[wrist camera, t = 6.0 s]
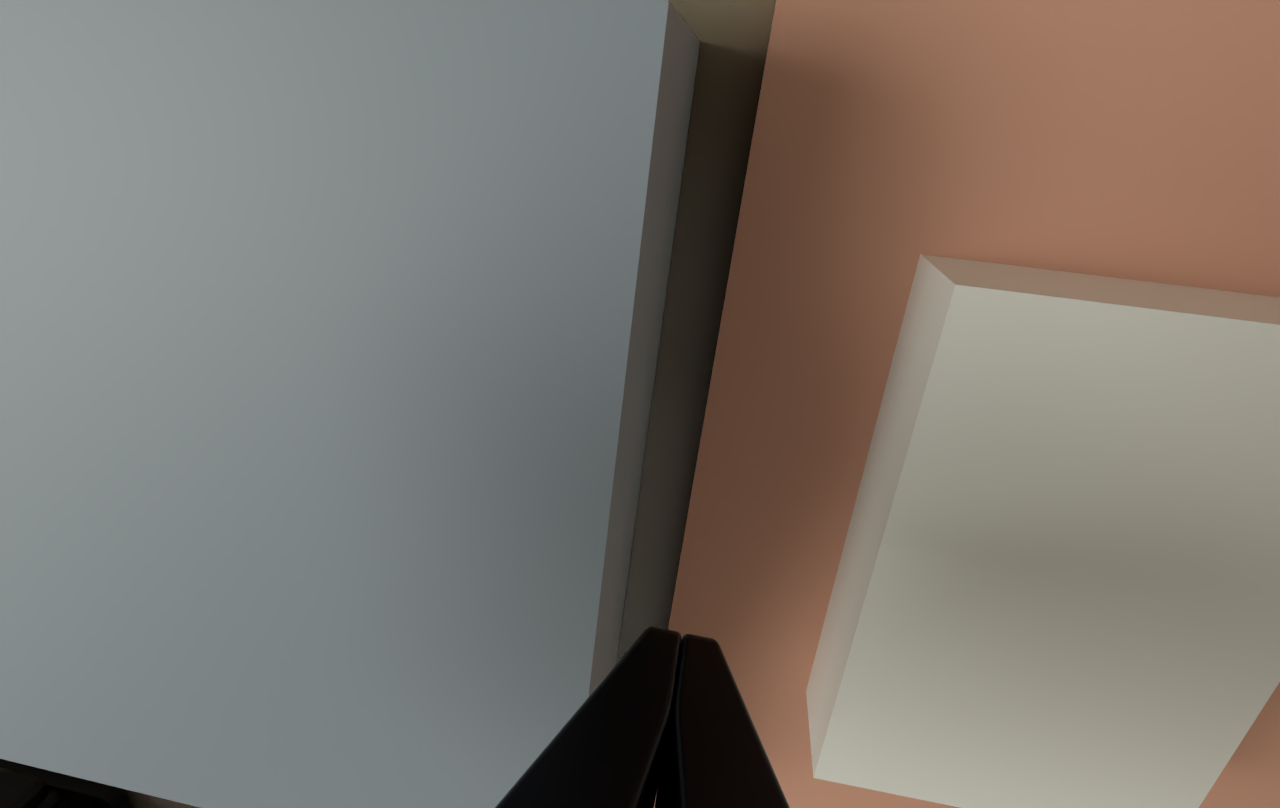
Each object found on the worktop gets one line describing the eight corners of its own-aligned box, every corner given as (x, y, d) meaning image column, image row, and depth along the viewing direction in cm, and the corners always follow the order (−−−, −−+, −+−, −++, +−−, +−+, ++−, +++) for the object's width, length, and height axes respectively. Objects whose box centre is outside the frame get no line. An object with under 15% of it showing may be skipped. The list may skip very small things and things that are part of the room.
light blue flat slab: (609, 716, 16) (565, 897, 12) (68, 598, 17) (-117, 730, 13) (700, 41, 10) (669, 0, 6) (-124, -57, 11) (-536, -135, 8)
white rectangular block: (813, 778, 12) (806, 691, 14) (1170, 850, 11) (1114, 749, 13) (955, 284, 8) (919, 254, 10) (1492, 351, 8) (1353, 306, 10)
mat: (1233, 948, 16) (1248, 973, 15) (636, 811, 17) (633, 830, 16) (2104, -108, 7) (2192, -123, 7) (812, -213, 9) (815, -230, 8)
